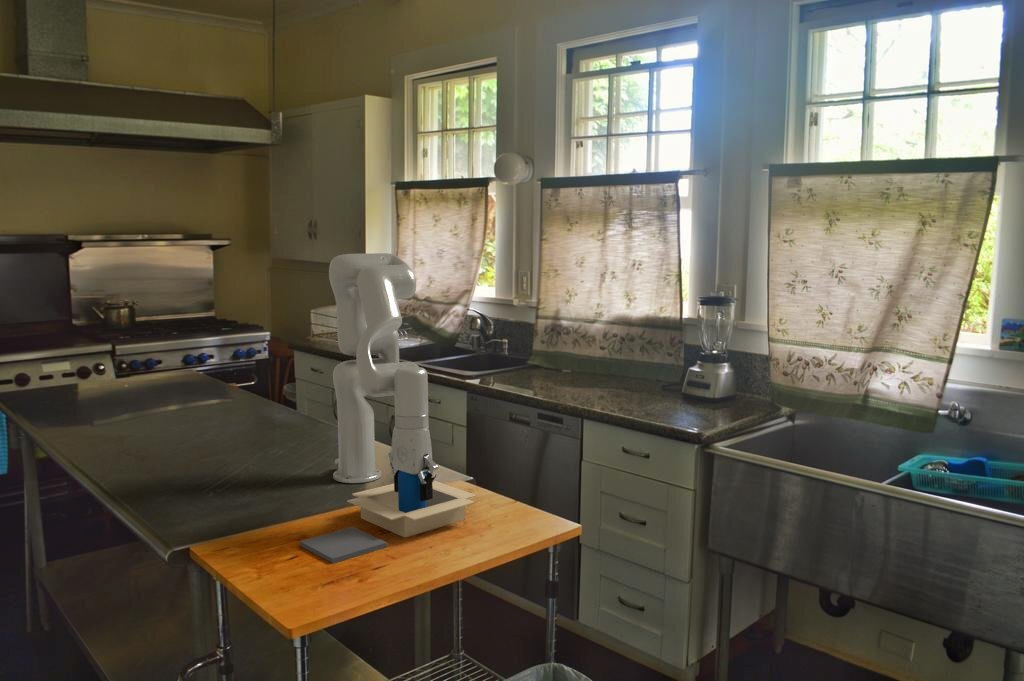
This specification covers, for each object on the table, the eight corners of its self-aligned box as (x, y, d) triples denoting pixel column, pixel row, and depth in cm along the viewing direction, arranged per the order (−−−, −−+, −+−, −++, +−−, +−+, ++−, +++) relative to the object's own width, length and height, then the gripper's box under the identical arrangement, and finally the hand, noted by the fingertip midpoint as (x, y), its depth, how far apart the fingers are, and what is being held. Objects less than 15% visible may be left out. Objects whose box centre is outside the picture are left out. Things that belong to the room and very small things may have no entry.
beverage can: (427, 514, 201) (427, 464, 199) (426, 523, 194) (425, 472, 193) (400, 514, 201) (399, 464, 199) (397, 523, 194) (396, 472, 193)
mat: (299, 545, 181) (299, 541, 181) (352, 531, 190) (352, 526, 189) (332, 563, 171) (332, 558, 171) (387, 547, 180) (386, 542, 180)
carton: (339, 517, 198) (339, 496, 197) (422, 495, 214) (422, 476, 214) (400, 545, 181) (400, 523, 180) (486, 519, 197) (486, 498, 196)
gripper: (376, 418, 198) (377, 490, 200) (421, 430, 186) (423, 507, 188) (402, 413, 203) (404, 484, 205) (448, 425, 191) (449, 500, 193)
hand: (413, 495), depth 196 cm, fingers open, 9 cm apart
